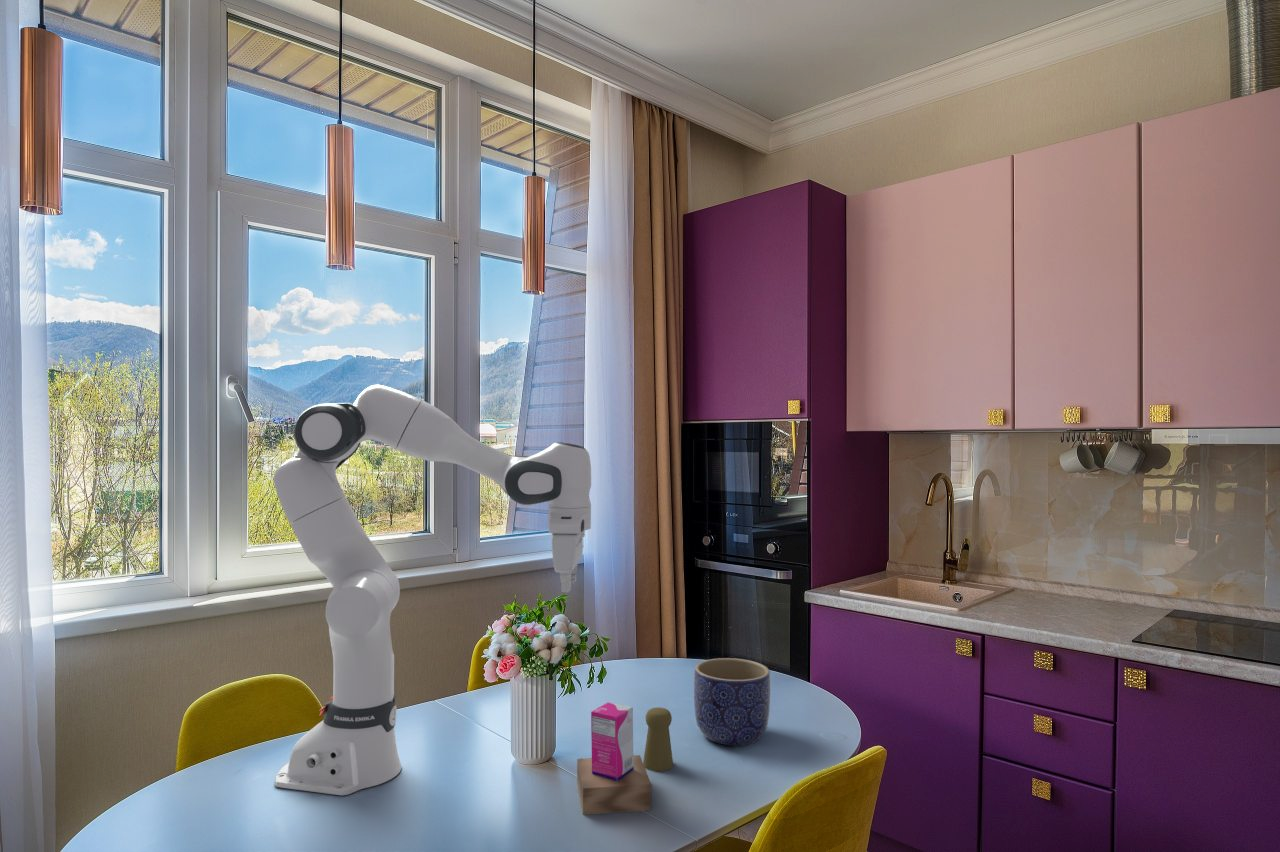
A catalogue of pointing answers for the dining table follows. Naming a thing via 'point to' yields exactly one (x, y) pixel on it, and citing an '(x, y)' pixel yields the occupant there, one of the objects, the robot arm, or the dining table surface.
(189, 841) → the dining table surface
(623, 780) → the walnut block
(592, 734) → the supplement box
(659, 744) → the olive pawn
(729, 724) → the planter
